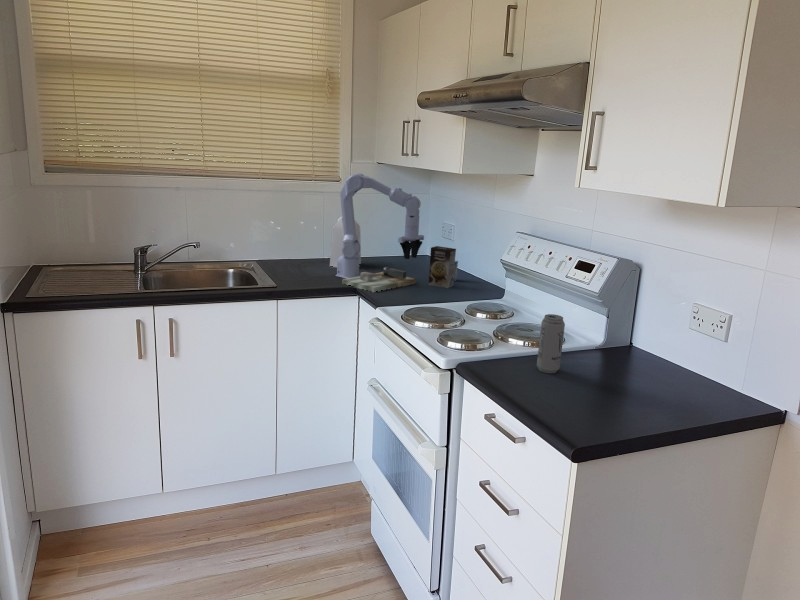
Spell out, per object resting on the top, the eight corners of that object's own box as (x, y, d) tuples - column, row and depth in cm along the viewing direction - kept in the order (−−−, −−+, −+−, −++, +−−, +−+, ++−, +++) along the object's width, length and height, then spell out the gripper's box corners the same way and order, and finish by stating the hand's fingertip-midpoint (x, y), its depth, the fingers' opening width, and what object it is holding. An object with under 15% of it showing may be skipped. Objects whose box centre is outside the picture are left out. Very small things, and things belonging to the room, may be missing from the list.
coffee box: (427, 285, 254) (430, 247, 250) (434, 282, 260) (436, 245, 256) (447, 288, 250) (450, 250, 246) (453, 285, 256) (456, 248, 252)
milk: (353, 268, 279) (354, 212, 273) (329, 266, 282) (330, 210, 275) (360, 264, 291) (362, 210, 284) (338, 262, 293) (339, 208, 287)
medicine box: (437, 280, 265) (438, 260, 263) (439, 278, 269) (440, 258, 267) (455, 281, 263) (456, 262, 261) (456, 279, 268) (458, 260, 265)
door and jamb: (342, 284, 249) (342, 272, 248) (384, 276, 268) (384, 264, 267) (373, 292, 238) (374, 280, 237) (415, 283, 256) (415, 272, 255)
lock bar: (381, 274, 258) (382, 267, 257) (386, 273, 260) (387, 266, 260) (402, 279, 251) (402, 272, 250) (407, 278, 253) (407, 271, 252)
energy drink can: (555, 375, 160) (562, 321, 156) (533, 370, 162) (539, 317, 159) (561, 369, 165) (568, 316, 161) (540, 364, 168) (545, 312, 164)
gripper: (407, 228, 245) (406, 261, 248) (430, 226, 255) (428, 257, 259) (395, 226, 249) (393, 258, 253) (417, 224, 260) (415, 255, 263)
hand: (410, 258), depth 256 cm, fingers open, 4 cm apart
